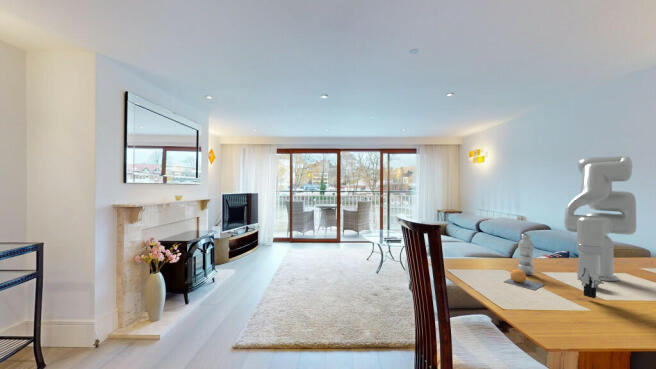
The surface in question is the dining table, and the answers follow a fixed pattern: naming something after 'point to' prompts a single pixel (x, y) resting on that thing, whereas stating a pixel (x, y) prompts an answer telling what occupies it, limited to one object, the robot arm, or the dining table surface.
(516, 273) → the ball
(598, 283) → the grey spiky ball
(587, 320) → the dining table surface
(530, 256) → the plastic bottle
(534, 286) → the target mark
